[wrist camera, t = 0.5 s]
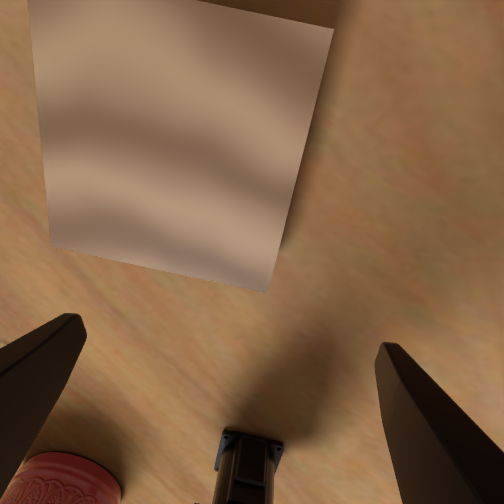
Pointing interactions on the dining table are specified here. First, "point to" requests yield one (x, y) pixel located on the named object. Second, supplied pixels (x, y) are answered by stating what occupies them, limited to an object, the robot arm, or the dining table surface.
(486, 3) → the dining table surface
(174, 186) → the tan square slab
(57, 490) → the canister
